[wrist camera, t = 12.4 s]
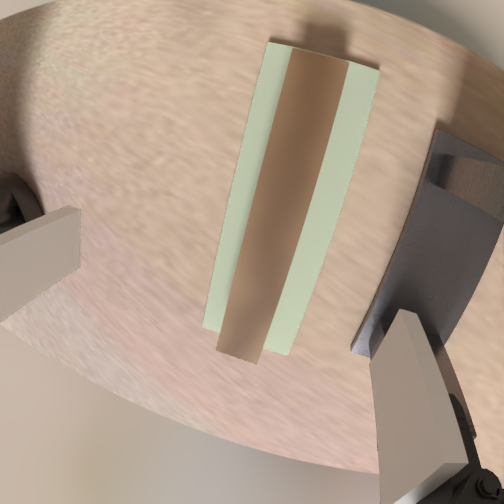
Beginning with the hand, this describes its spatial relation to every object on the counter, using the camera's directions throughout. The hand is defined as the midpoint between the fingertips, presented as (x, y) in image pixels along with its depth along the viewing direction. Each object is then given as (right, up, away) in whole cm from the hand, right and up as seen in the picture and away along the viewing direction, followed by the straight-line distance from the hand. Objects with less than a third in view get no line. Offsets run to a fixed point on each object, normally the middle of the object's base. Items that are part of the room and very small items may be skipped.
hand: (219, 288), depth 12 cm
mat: (+3, +4, +12) cm, 13 cm away
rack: (+16, 0, +10) cm, 19 cm away
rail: (+3, +4, +11) cm, 12 cm away
